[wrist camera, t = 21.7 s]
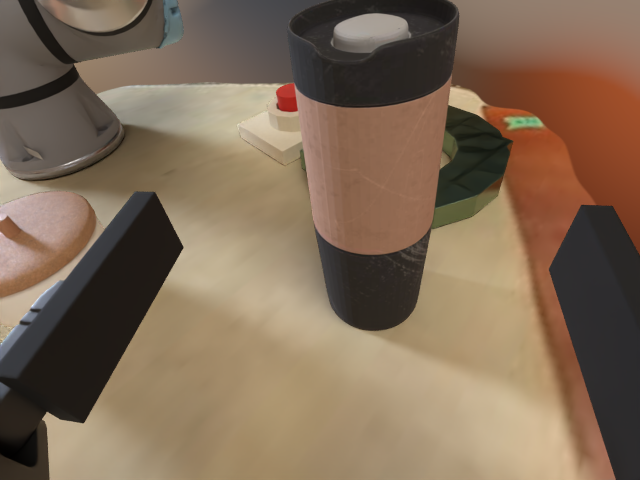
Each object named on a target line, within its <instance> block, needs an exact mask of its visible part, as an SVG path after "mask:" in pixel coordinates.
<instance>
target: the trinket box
mask: <svg viewBox="0 0 640 480" xmlns="http://www.w3.org/2000/svg"><path fill="white" fill-rule="evenodd" d="M104 230H105V229H104V228H103V226H102V224H101V223H100V221H99V220H98V218H97V217H96V215H95V212H94V210H93V208H92V207H91V205H90V204H89V203H88V201H87V200H86V199H85V198H83V197H82V196H80V195H78V194H75V193H72V192H66V191H49V192H41V193H36V194H32V195H28V196H25V197H21V198H18V199H15V200H13V201H10V202H7V203H5V204H3V205H1V206H0V324H1V325H4V326H8V327H13V328H14V327H15V326H16V325H19V323H20V322H19V321H20V320H21V319H22V317H23V316H24V315H25V314H26V313H27V312H29V311H30V308H31V307H32V305H33V304H34V303H35V302H36V300H37V299H38V298H39V297H40V296H41V294H42V293H43V292H45V291H46V290H47V289H49V288H50V287H51V286H52V285H54V284H55V283H56V282H58V281H59V280H65V279H66V278H67V276H68V275H69V274H70V273H71V271H72V270H73V269H74V268H75V266H76V265H77V264H78V263H79V261H80V260H81V259H82V258H83V256H84V255H85V254H86V253H87V251H88V250H89V249H90V248H91V246H92V245H93V244H94V243H95V241H96V240H97V239H98V238H99V236H100V235H101V234H102V233H103V231H104Z"/></svg>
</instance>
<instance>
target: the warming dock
mask: <svg viewBox="0 0 640 480" xmlns="http://www.w3.org/2000/svg"><path fill="white" fill-rule="evenodd" d="M512 145H513V141H512V140H510V139H507V138H504V137H502V135H501V133H500V131H499V130H498V129H496V128H495V127H493V126H492V125H491V124H489V123H488V122H486V121H485V120H484V119H482V118H481V117H479V116H478V115H476V114H473V113H470V112H467V111H464V110H461V109H458V108H455V107H452V106H449V105H448V109H447V116H446V124H445V131H444V139H443V147H442V150H443V151H444V152H445V153H446V154H447V155H449V156H450V157H451V159H452V161H451V162H450V163H448V164H447V165H445V166H444V167H443V168H441V169H440V170H439V177H438V184H437V192H436V200H435V207H434V215H433V221H432V227H431V229H434V228H437V227H440V226H443V225H447V224H450V223H453V222H456V221H459V220H463V219H466V218H469V217H472V216H473V215H475V214H476V213H477V212H478V211H480V210H481V209H482V208H483V207H484V206H486V205H487V204H488V203H489V202H491V201H492V200H493V199H494V198H495V197H497V196H498V193H499V190H500V186H501V183H502V180H503V176H504V173H505V169H506V166H507V163H508V159H509V156H510V151H511V148H512ZM300 157H301V164H302V169H304V170H305V171H306V164H305V157H304V150H303V149H301V150H300ZM306 172H307V171H306Z"/></svg>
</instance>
